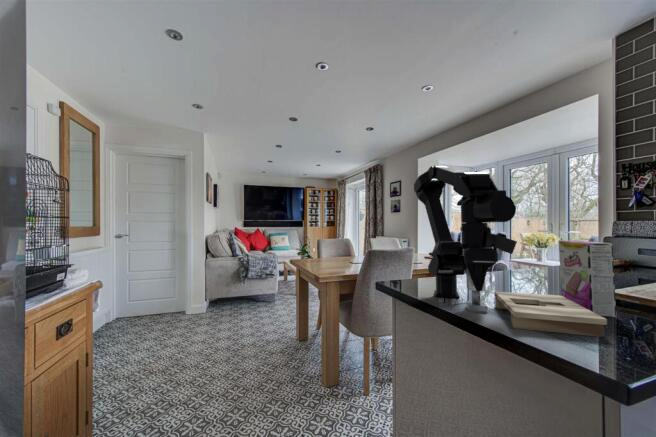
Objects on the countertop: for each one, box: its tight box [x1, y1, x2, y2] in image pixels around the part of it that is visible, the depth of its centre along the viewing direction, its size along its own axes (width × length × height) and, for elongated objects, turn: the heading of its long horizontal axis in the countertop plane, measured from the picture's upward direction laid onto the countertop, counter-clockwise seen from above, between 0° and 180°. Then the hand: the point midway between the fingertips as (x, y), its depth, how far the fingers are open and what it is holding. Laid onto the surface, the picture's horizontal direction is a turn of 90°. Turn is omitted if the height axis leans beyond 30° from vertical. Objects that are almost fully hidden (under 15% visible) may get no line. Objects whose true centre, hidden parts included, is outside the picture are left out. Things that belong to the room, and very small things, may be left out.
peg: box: [465, 267, 488, 314], centre depth 68 cm, size 4×4×10 cm
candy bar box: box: [558, 239, 617, 318], centre depth 67 cm, size 11×5×16 cm, turn 168°
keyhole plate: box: [494, 291, 608, 338], centre depth 60 cm, size 18×14×4 cm
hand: (475, 286), depth 68 cm, fingers open, 9 cm apart
